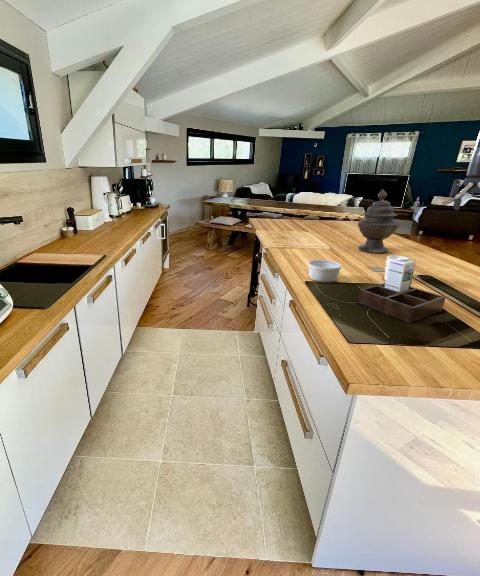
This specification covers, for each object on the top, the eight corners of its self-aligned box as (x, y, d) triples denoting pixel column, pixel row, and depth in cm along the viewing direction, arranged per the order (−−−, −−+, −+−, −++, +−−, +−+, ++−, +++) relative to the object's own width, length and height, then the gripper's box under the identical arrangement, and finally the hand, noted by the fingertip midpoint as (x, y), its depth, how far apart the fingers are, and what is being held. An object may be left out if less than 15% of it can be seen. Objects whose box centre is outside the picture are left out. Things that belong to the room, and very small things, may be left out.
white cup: (381, 276, 141) (386, 254, 138) (402, 278, 138) (407, 256, 134) (383, 281, 135) (388, 259, 131) (404, 284, 131) (410, 261, 128)
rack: (441, 311, 107) (446, 297, 105) (409, 323, 99) (413, 308, 97) (388, 293, 122) (391, 280, 120) (357, 302, 114) (360, 289, 112)
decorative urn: (395, 255, 170) (404, 188, 160) (353, 253, 180) (360, 190, 170) (394, 249, 186) (402, 187, 176) (356, 248, 196) (362, 189, 186)
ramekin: (327, 273, 146) (330, 258, 144) (345, 282, 134) (348, 267, 131) (301, 275, 144) (303, 260, 142) (316, 284, 132) (319, 269, 129)
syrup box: (397, 302, 112) (406, 263, 107) (381, 296, 117) (390, 259, 112) (407, 299, 114) (417, 261, 109) (392, 293, 119) (400, 257, 114)
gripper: (518, 160, 100) (501, 212, 106) (464, 162, 112) (452, 208, 118) (507, 160, 97) (491, 214, 103) (454, 162, 109) (441, 209, 114)
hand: (470, 211), depth 110 cm, fingers open, 8 cm apart
